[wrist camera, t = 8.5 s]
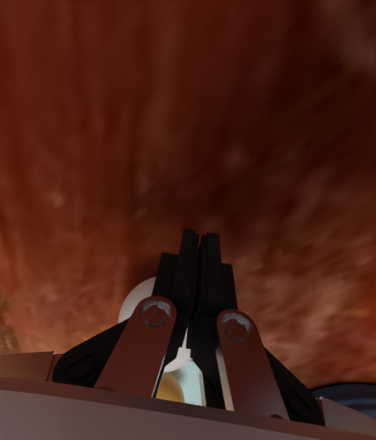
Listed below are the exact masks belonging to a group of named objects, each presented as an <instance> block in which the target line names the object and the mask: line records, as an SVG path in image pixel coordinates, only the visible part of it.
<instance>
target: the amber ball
mask: <svg viewBox="0 0 376 440" xmlns="http://www.w3.org/2000/svg"><path fill="white" fill-rule="evenodd" d="M156 398H158V399H164V400H170V401H176V402H182V403H185V399H184V393H183V390H182V387H181V385H180V383H179V382H178V380H177V379H176V378H175V376H174V375H173V374H171V373H170V372H164V373H163V377H162V380H161V383H160V387H159V390H158V393H157V397H156Z"/></svg>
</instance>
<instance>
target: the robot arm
mask: <svg viewBox="0 0 376 440" xmlns="http://www.w3.org/2000/svg"><path fill="white" fill-rule="evenodd" d="M198 245H199V234H197V233H195V230H192V229H186V228H184V230H183V235H182V240H181V245H180V251H179V255H175V254H170V253H164V252H163V253H162V257H161V260H160V264H159V268H158V272H157V275H156V279H155V283H154V287H153V291H152V294H151V296H149V297H147V298H144V299H143V300H141V301H140V302H139V303H138V304H137V306H136V307H135V309H134V311H133V313H132V315H131V317H130V318H128V319H126V320H124V321H122V322H120V323H118V324H117V325H115V326H113V327H111V328H109V329H107V330H105V331H103V332H102V333H100V334H98V335H96V336H94V337H92V338H90V339H88V340H87V341H85V342H83V343H81V344H79V345H77V346H75V347H73V348H72V349H70V350H69V351H67V352H66V353H64V354H55V352H54V351H50V352H34V353H19V354H3V355H0V440H376V419H375V418H373V417H370V416H368V415H365V414H363V413H361V412H358V411H356V410H353V409H351V408H348V407H346V406H344V405H341V404H339V403H336V402H334V401H332V400H329V399H327V398H324V397H322V396H321V397H320V398H319V399H318V398H316V397H315V396H314V395H313V394H312V393H311V392H310V391H309V389H308V388H307V387H306V386H305V385H304V384H302V383H301V382H300V381H299V380H298V379H297V378H296V377H295V376H294V375H293V374H292V373H291V372H290V371H289V370H288V369H287V368H286V367H285V366H284V365H283V364H281V363H280V362H279V361H278V360H277V359H276V358H275V357H274V356H273V355H272V354H271V353H270V352H269V351H268V350H267V349H266V348H265V347H264V346H263V344H262V341H261V338H260V335H259V332H258V330H257V327H256V325H255V323H254V321H253V320H252V319H251V318H250V317H249V316H248V315H246V314H245V313H243V312H241V311H239V310H238V307H237V299H236V292H235V285H234V277H233V270H232V265H231V264H225V263H221V252H220V239H219V234H214V233H208V232H207V235H202V238H201V242H200V246H199V250H198ZM186 331H187V338H186V349H190V358H192V359H193V362H194V363H195V364H196V365H197V367H198V368H199V383H200V392H201V402H202V406H200V405H194V404H188V403H182V402H176V401H170V400H164V399H158V398H156V397H157V393H158V390H159V387H160V383H161V380H162V377H163V373H164V370H165V366H167V365H168V364H169V363H171V362H172V361H173V360H175V359H176V357H177V353H178V350H179V347H180V348H182V346H183V342H184V338H185V334H186Z"/></svg>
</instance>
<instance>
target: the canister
mask: <svg viewBox="0 0 376 440" xmlns="http://www.w3.org/2000/svg"><path fill="white" fill-rule="evenodd" d="M311 393H312V394H313V395H314V396H315V397H316V398H318V399H319V398H320V397H321V396H322V397H324V398H327V399H329V400H332V401H334V402H336V403H339V404H341V405H344V406H346V407H348V408H351V409H353V410H356V411H358V412H361V413H363V414H365V415H368V416H370V417H373V418H375V419H376V386H375V385H367V384H343V385H335V386H329V387H325V388H321V389H317V390H314V391H311Z"/></svg>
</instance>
